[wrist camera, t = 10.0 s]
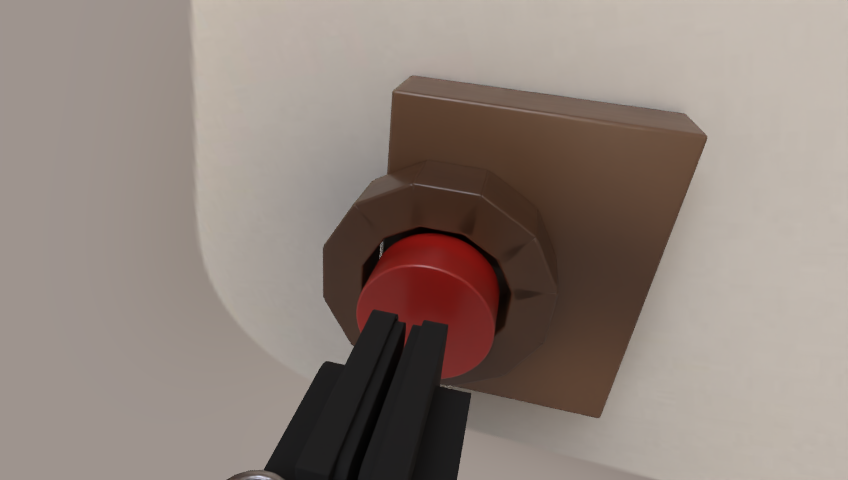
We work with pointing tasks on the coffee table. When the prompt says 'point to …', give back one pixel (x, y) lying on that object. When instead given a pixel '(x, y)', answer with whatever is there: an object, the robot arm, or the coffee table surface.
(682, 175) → the button block
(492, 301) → the button
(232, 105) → the coffee table surface
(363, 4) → the coffee table surface
